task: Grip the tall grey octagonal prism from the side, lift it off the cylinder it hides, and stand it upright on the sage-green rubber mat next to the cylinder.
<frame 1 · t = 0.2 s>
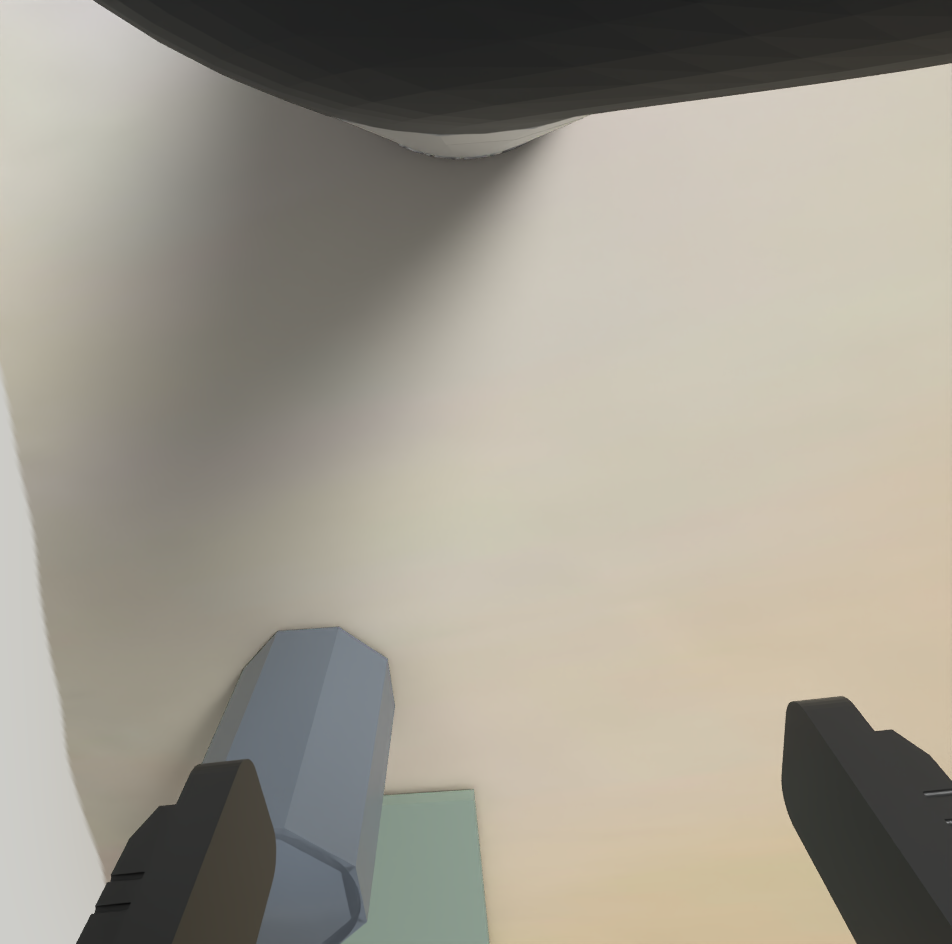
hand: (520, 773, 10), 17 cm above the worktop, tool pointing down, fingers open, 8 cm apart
mat: (363, 891, 37), on the worktop
grey octagonal prism: (320, 687, 31), on the worktop
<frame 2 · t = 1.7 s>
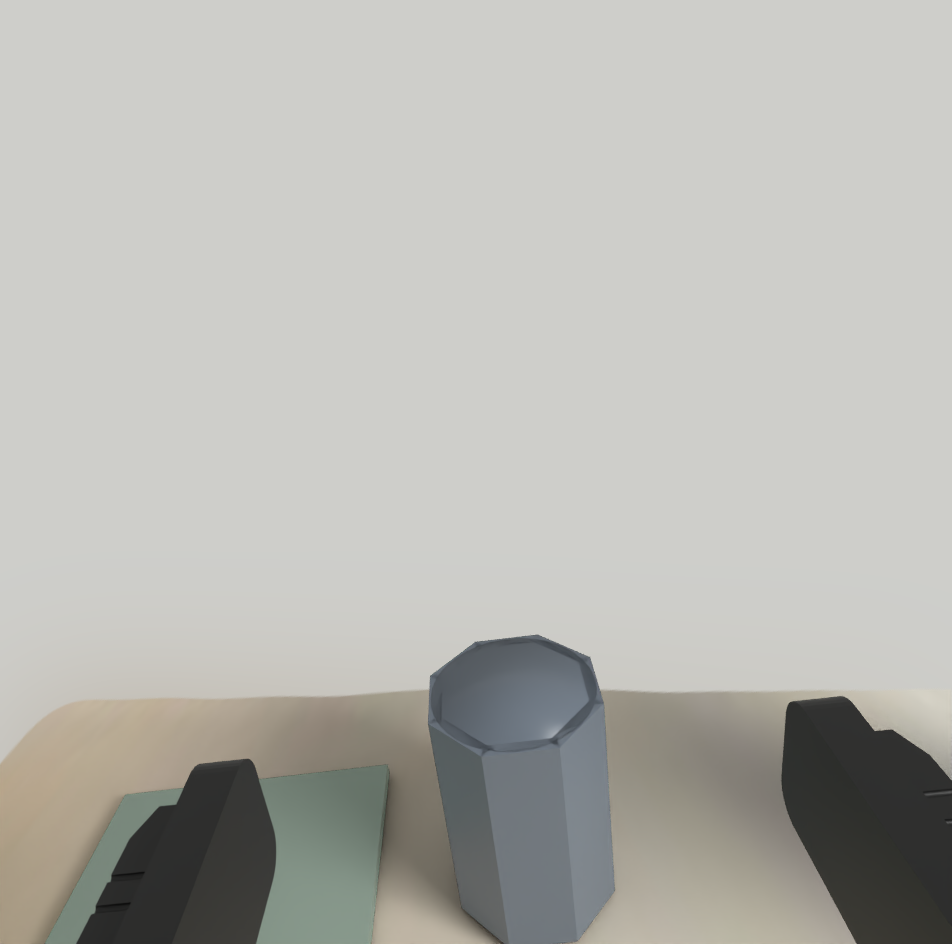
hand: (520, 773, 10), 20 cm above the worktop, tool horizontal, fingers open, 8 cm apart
mat: (220, 905, 30), on the worktop
grey octagonal prism: (534, 870, 30), on the worktop
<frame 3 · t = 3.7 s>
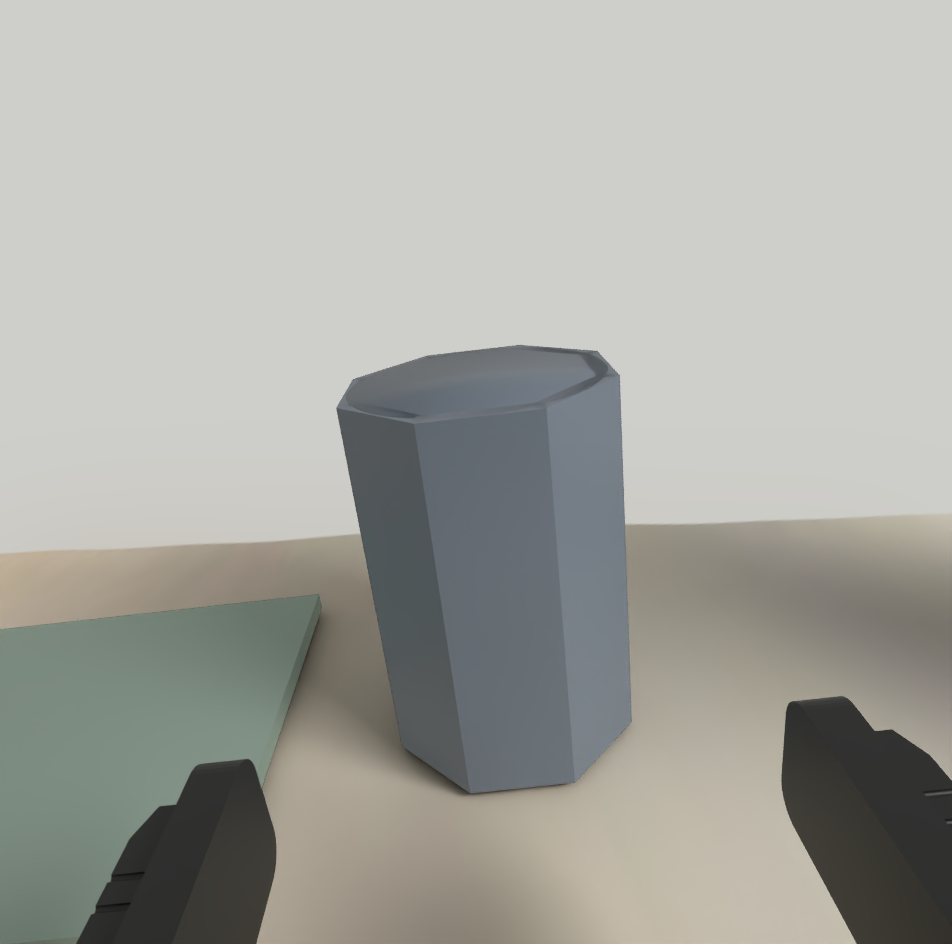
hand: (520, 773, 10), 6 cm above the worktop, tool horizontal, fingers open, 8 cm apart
mat: (54, 750, 21), on the worktop
grey octagonal prism: (512, 701, 21), on the worktop
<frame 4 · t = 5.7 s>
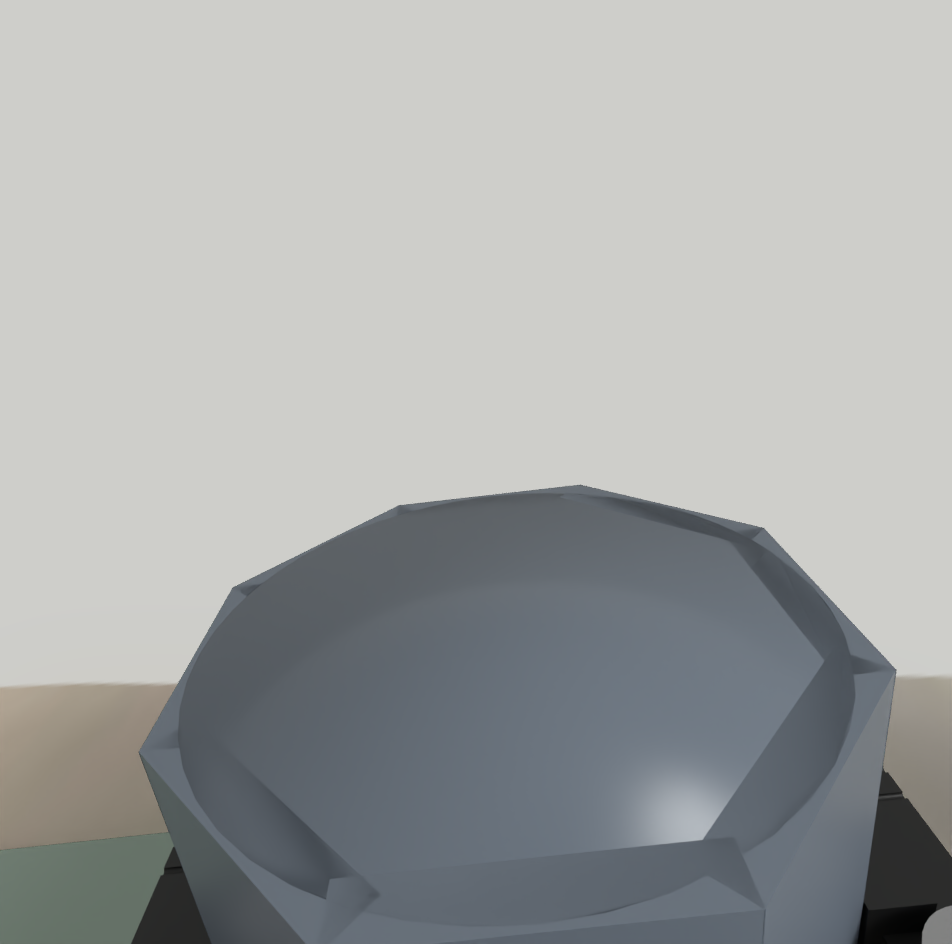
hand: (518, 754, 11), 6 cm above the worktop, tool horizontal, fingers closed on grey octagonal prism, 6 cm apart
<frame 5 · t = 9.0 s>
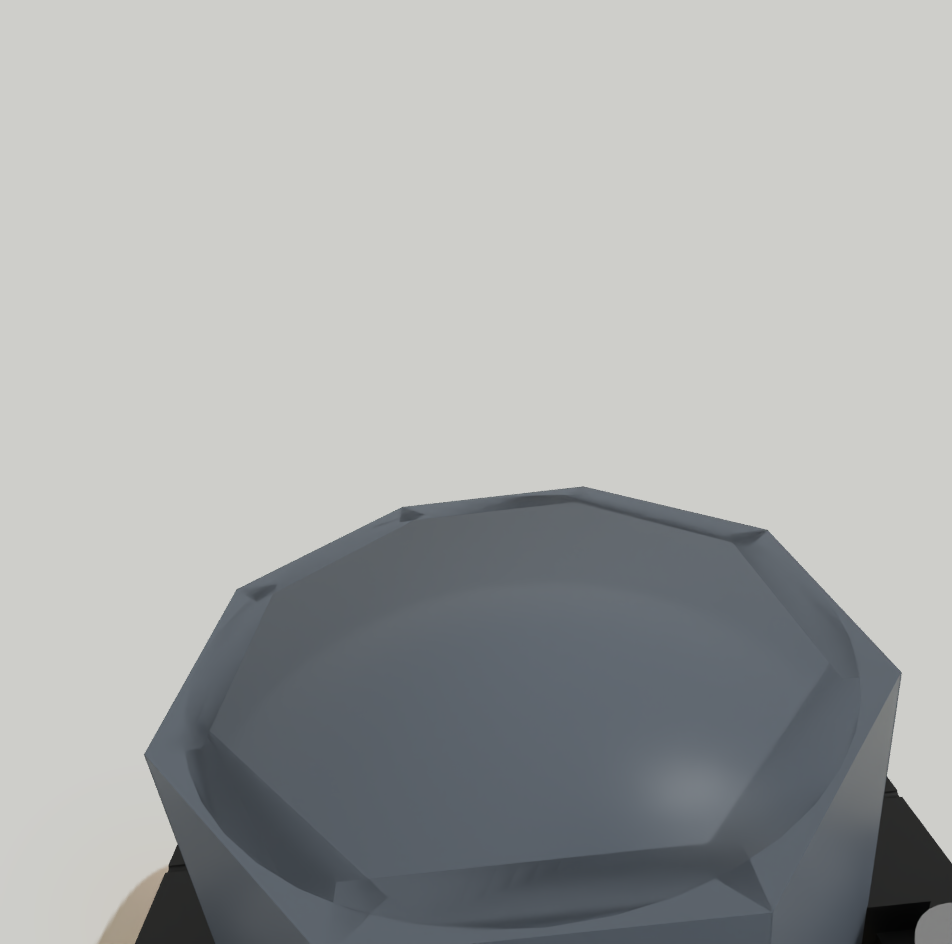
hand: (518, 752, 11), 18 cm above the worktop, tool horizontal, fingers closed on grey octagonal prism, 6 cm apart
when the fingers open (8 cm above the worktop, at t = 12.1 s): grey octagonal prism drops 1 cm, resting on mat.
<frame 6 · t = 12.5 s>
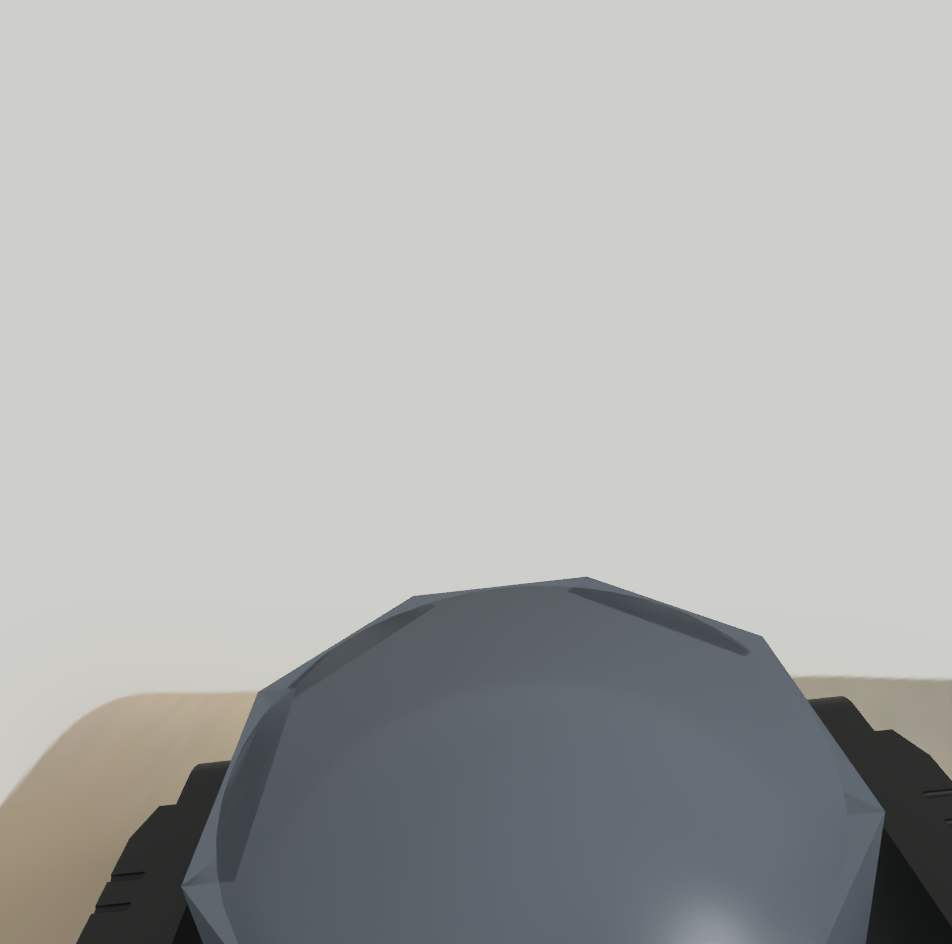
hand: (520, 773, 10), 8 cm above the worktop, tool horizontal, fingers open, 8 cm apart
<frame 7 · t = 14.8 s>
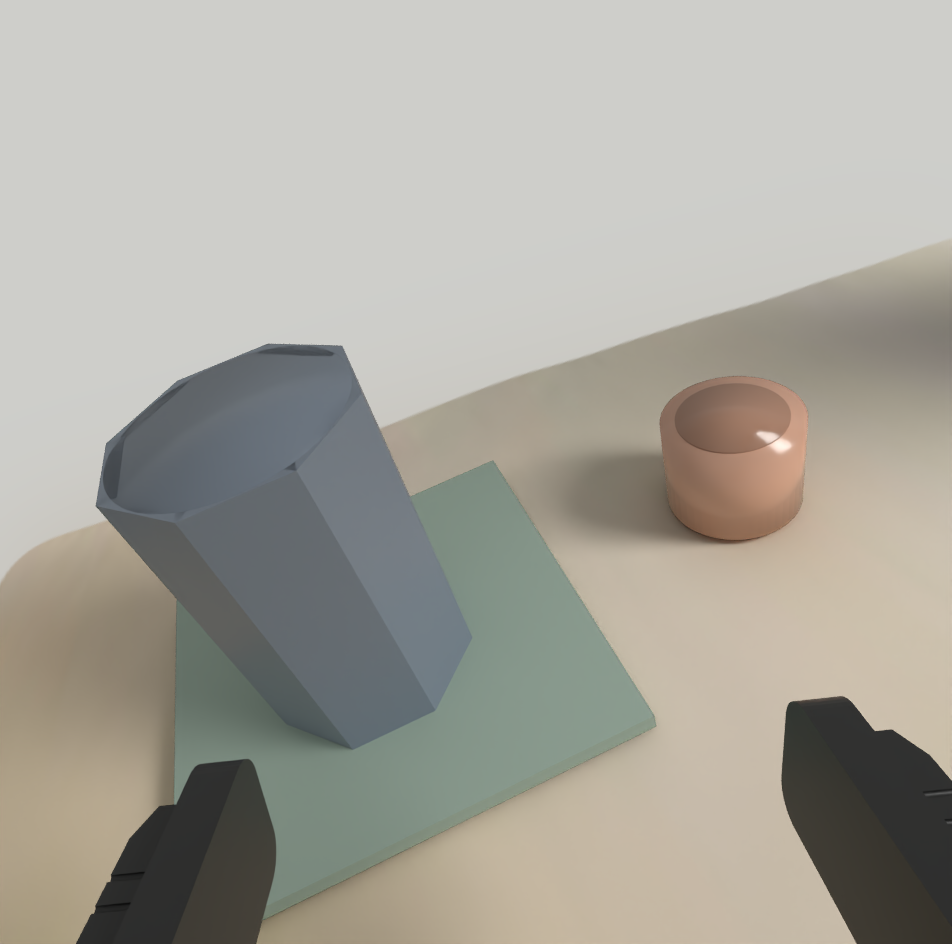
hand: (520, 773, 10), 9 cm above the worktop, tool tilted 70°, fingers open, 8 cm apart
mat: (377, 656, 24), on the worktop
cylinder: (733, 492, 25), on the worktop
grey octagonal prism: (372, 649, 23), point 1 cm above the worktop, touching mat
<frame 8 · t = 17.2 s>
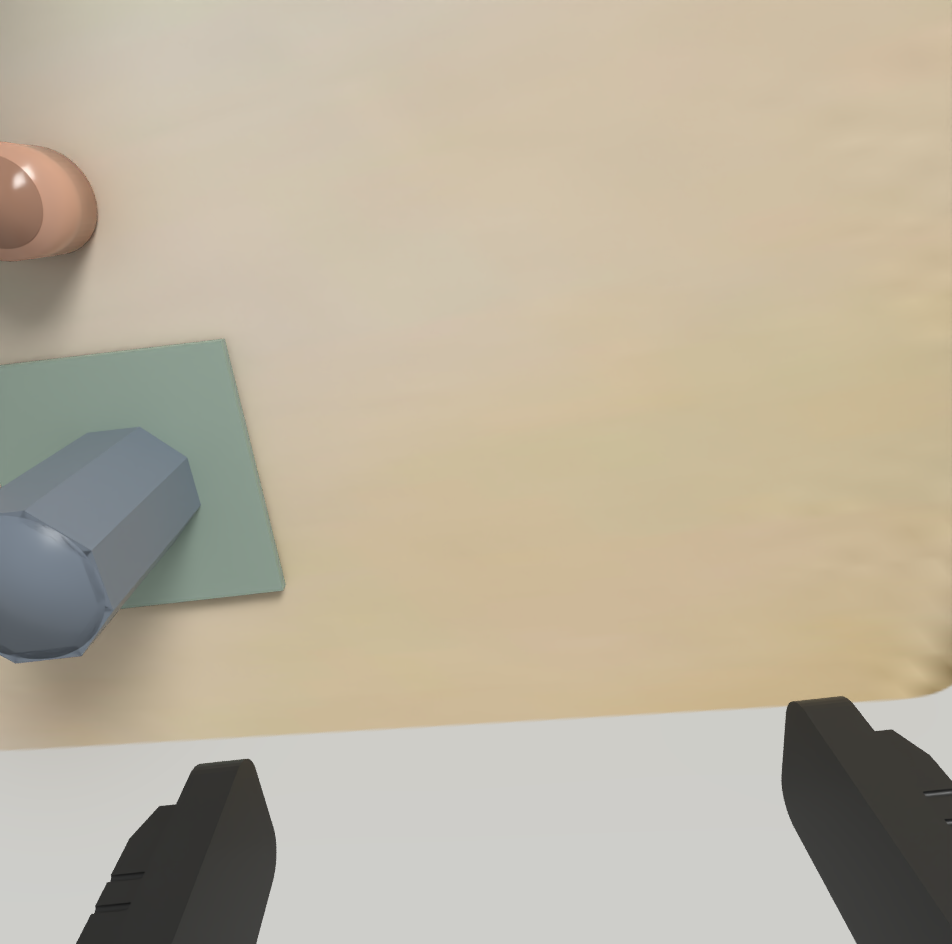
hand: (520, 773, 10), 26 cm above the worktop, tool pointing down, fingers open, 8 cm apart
mat: (135, 484, 36), on the worktop
cylinder: (44, 201, 31), on the worktop
grey octagonal prism: (132, 488, 36), point 1 cm above the worktop, touching mat
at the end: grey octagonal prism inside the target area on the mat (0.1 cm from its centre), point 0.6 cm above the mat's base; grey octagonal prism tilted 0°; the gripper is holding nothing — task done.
